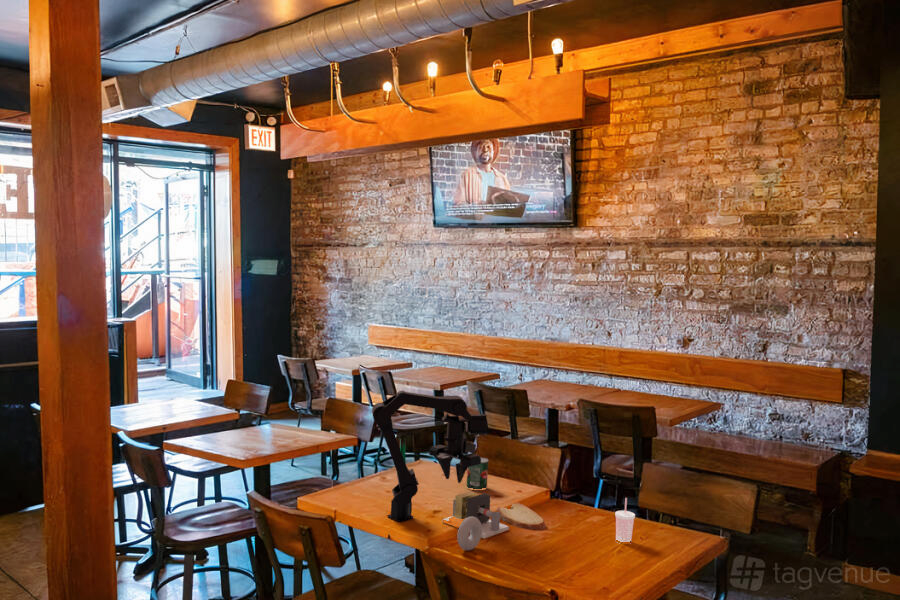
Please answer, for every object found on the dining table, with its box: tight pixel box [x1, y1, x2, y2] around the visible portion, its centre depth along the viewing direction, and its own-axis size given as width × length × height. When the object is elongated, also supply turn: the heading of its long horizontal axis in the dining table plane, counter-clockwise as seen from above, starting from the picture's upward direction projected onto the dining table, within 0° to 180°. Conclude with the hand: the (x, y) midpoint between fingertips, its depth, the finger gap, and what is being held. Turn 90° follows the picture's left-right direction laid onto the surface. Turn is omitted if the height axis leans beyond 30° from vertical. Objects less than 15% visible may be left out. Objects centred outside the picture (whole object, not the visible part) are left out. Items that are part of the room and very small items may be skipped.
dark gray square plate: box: [467, 492, 491, 523], centre depth 246 cm, size 8×2×8 cm, turn 137°
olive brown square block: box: [454, 490, 478, 519], centre depth 249 cm, size 7×3×7 cm, turn 137°
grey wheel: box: [456, 516, 482, 552], centre depth 226 cm, size 10×4×10 cm, turn 141°
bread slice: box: [496, 502, 547, 531], centre depth 256 cm, size 18×18×4 cm
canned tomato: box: [466, 456, 489, 489], centre depth 288 cm, size 8×8×11 cm
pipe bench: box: [442, 498, 510, 539], centre depth 246 cm, size 12×18×7 cm, turn 47°
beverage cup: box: [614, 497, 636, 542], centre depth 239 cm, size 6×6×14 cm
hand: (453, 480), depth 253 cm, fingers open, 5 cm apart
